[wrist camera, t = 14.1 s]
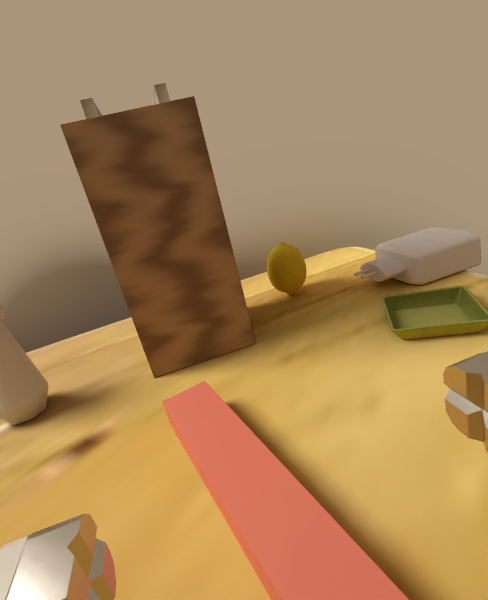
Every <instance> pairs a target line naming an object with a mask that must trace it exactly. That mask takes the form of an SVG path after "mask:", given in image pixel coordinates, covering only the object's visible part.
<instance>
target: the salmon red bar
mask: <svg viewBox="0 0 488 600" xmlns="http://www.w3.org/2000/svg"><path fill="white" fill-rule="evenodd" d="M163 405H164V407H165V410H166V413H167V415H168V418H169V421H170V424H171V426H172V428H173V430H174V432H175V433H176V435H177V437H178V438H179V440H180V442H181V444H182V445H183V447H184V449H185V451H186V452H187V454H188V456H189V458H190V459H191V461H192V463H193V464H194V466H195V468H196V470H197V471H198V473H199V475H200V477H201V478H202V480H203V482H204V484H205V485H206V487H207V489H208V490H209V492H210V494H211V496H212V497H213V499H214V501H215V503H216V504H217V506H218V508H219V509H220V511H221V513H222V515H223V516H224V518H225V520H226V522H227V523H228V525H229V527H230V529H231V530H232V532H233V534H234V535H235V537H236V539H237V541H238V542H239V544H240V546H241V548H242V549H243V551H244V553H245V555H246V556H247V558H248V560H249V561H250V563H251V565H252V567H253V568H254V570H255V572H256V574H257V575H258V577H259V579H260V581H261V582H262V584H263V586H264V587H265V589H266V591H267V593H268V594H269V596H270V598H271V600H409V599H408V598H407V597H406V596H405V595H404V594H403V593H402V592H401V591H400V590H399V588H398V587H397V586H396V585H395V584H394V583H393V582H392V581H391V580H390V579H389V578H388V577H387V576H386V575H385V573H384V572H383V571H382V570H381V569H380V568H379V567H378V566H377V565H376V564H375V563H374V562H373V561H372V560H371V558H370V557H369V556H368V555H367V554H366V553H365V552H364V551H363V550H362V549H361V548H360V547H359V546H358V544H357V543H356V542H355V541H354V540H353V539H352V538H351V537H350V536H349V535H348V534H347V533H346V532H345V531H344V529H343V528H342V527H341V526H340V525H339V524H338V523H337V522H336V521H335V520H334V519H333V518H332V517H331V516H330V514H329V513H328V512H327V511H326V510H325V509H324V508H323V507H322V506H321V505H320V504H319V503H318V502H317V501H316V499H315V498H314V497H313V496H312V495H311V494H310V493H309V492H308V491H307V490H306V489H305V488H304V487H303V486H302V484H301V483H300V482H299V481H298V480H297V479H296V478H295V477H294V476H293V475H292V474H291V473H290V472H289V471H288V469H287V468H286V467H285V466H284V465H283V464H282V463H281V462H280V461H279V460H278V459H277V458H276V457H275V456H274V454H273V453H272V452H271V451H270V450H269V449H268V448H267V447H266V446H265V445H264V444H263V443H262V442H261V441H260V439H259V438H258V437H257V436H256V435H255V434H254V433H253V432H252V431H251V430H250V429H249V428H248V427H247V426H246V424H245V423H244V422H243V421H242V420H241V419H240V418H239V417H238V416H237V415H236V414H235V413H234V412H233V411H232V409H231V408H230V407H229V406H228V405H227V404H226V403H225V402H224V401H223V400H222V399H221V398H220V397H219V396H218V394H217V393H216V392H215V391H214V390H213V389H212V388H211V387H210V386H209V385H208V384H207V383H206V382H205V381H204V382H202V383H200V384H198V385H196V386H194V387H192V388H190V389H188V390H185V391H183V392H181V393H179V394H177V395H175V396H173V397H171V398H169V399H167V400H165V401H163Z"/></svg>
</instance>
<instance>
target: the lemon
mask: <svg viewBox="0 0 488 600" xmlns="http://www.w3.org/2000/svg"><path fill="white" fill-rule="evenodd" d="M267 272H268V276H269V279H270V281H271V283H272V285H273V286H274V287H275V288H276V289H277V290H279V291H281V292H286V293H287V294H289V295H293V294H294V293H295V291H296V290H298V289H299V288H300V287H301V286H302V285H303V283H304V281H305V279H306V265H305V262H304V259H303V256H302V254H301V253H300V251H299V250H298V249H297V248H295V247H293V246H291V245H288V244H285V243H283V242H282V243H279V244H278V246H277V247H275V248H274V249H273V250H272V251H271V252H270V254H269V256H268V260H267Z"/></svg>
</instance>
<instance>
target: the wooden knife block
mask: <svg viewBox="0 0 488 600" xmlns="http://www.w3.org/2000/svg"><path fill="white" fill-rule="evenodd" d="M80 101H81V104H82V107H83V110H84V113H85V116H86V120H81V121H77V122H72V123H67V124H62V125H61V128H62V130H63V133H64V136H65V139H66V141H67V144H68V146H69V150H70V152H71V155H72V158H73V160H74V163H75V166H76V168H77V171H78V174H79V176H80V179H81V182H82V185H83V187H84V190H85V193H86V195H87V198H88V201H89V203H90V206H91V208H92V211H93V214H94V217H95V219H96V222H97V224H98V228H99V230H100V233H101V236H102V238H103V241H104V244H105V246H106V249H107V252H108V255H109V257H110V260H111V263H112V265H113V268H114V271H115V273H116V276H117V278H118V281H119V284H120V287H121V290H122V292H123V295H124V297H125V300H126V303H127V306H128V308H129V311H130V314H131V316H132V319H133V322H134V325H135V327H136V330H137V333H138V335H139V338H140V341H141V343H142V346H143V349H144V351H145V354H146V357H147V360H148V362H149V365H150V368H151V370H152V373H153V376H154V378H155V377H158V376H161V375H164V374H167V373H170V372H173V371H176V370H179V369H182V368H185V367H188V366H191V365H194V364H196V363H199V362H202V361H205V360H208V359H211V358H214V357H217V356H220V355H223V354H226V353H229V352H232V351H235V350H237V349H240V348H243V347H246V346H249V345H252V344H255V343H256V342H255V338H254V334H253V330H252V326H251V322H250V318H249V314H248V310H247V306H246V302H245V298H244V294H243V290H242V286H241V282H240V278H239V274H238V270H237V266H236V262H235V258H234V254H233V250H232V246H231V242H230V238H229V235H228V230H227V226H226V222H225V218H224V214H223V211H222V206H221V202H220V198H219V194H218V191H217V186H216V182H215V178H214V174H213V170H212V166H211V162H210V158H209V154H208V150H207V147H206V142H205V138H204V135H203V130H202V126H201V122H200V118H199V115H198V110H197V106H196V102H195V98H194V96H193V97H188V98H184V99H179V100H174V101H170V99H169V95H168V92H167V88H166V84H165V83H163V84H158V85H154V92H153V101H152V105H151V106H147V107H141V108H137V109H132V110H128V111H123V112H118V113H113V114H109V115H104V116H102V115H101V114H100V112H99V110H98V108H97V106H96V104H95V103H94V101H93V99H92V98H89V99H85V100H80Z"/></svg>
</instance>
